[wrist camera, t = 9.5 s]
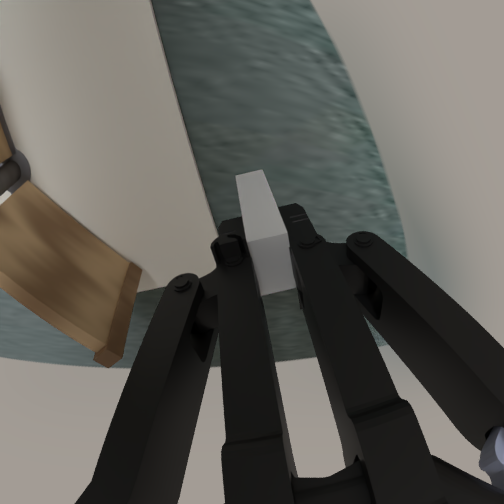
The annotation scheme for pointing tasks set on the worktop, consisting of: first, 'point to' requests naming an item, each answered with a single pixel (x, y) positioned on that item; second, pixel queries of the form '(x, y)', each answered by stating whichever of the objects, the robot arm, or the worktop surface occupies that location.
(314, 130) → the worktop surface
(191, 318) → the robot arm
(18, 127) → the card
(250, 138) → the worktop surface
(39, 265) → the hinged panel
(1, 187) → the fixed rail
